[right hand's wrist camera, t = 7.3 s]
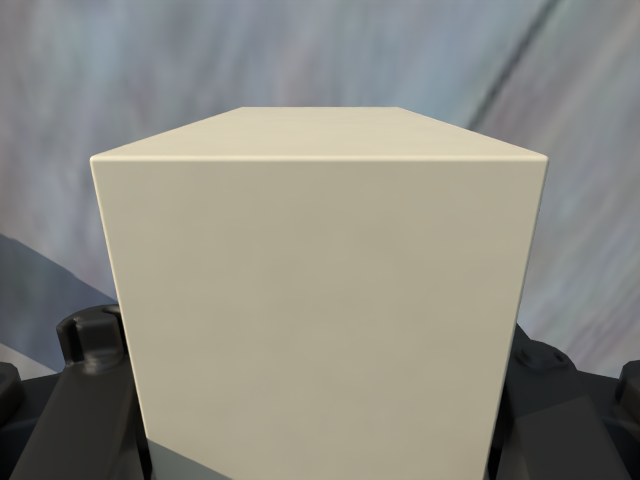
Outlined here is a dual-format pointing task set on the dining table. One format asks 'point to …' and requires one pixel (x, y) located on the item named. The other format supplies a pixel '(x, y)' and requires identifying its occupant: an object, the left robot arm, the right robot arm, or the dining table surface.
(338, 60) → the dining table surface
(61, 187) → the dining table surface
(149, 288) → the cream beam
